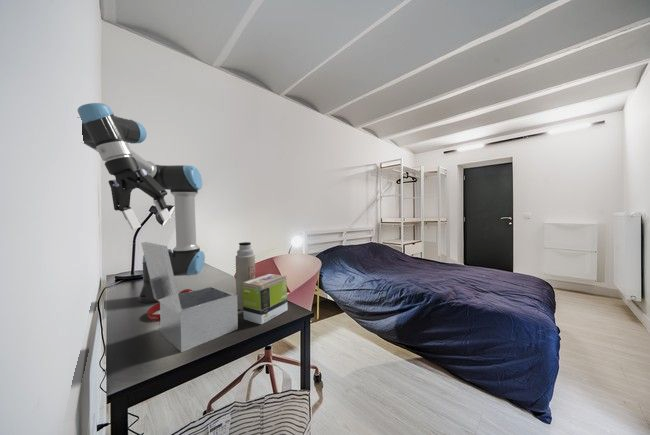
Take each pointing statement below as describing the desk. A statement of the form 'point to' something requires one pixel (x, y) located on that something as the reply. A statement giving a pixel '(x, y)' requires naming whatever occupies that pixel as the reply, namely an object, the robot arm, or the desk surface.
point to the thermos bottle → (244, 269)
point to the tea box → (264, 298)
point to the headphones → (156, 307)
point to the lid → (161, 275)
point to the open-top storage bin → (199, 317)
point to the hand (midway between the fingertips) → (151, 224)
